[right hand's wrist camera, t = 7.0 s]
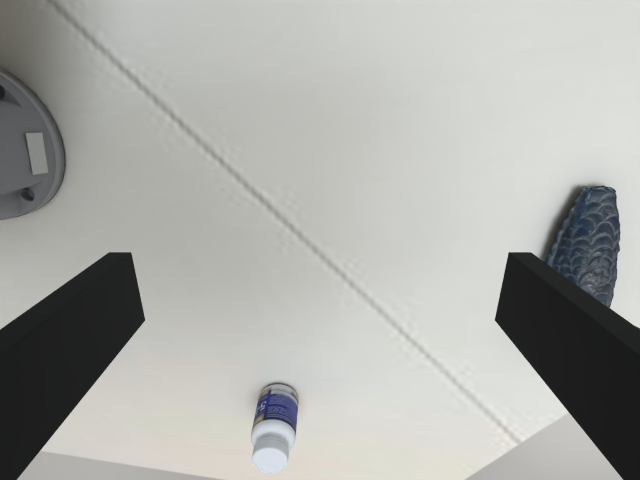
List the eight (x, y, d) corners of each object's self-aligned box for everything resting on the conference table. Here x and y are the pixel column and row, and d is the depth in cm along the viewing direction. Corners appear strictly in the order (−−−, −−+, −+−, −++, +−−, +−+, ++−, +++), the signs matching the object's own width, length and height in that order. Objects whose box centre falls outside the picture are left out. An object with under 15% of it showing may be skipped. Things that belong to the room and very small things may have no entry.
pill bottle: (262, 379, 46) (249, 440, 38) (301, 386, 47) (297, 447, 39) (256, 410, 48) (243, 474, 40) (294, 416, 49) (289, 480, 40)
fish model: (520, 351, 45) (544, 379, 40) (552, 185, 37) (586, 196, 33) (574, 349, 45) (604, 377, 40) (616, 182, 37) (659, 193, 33)
